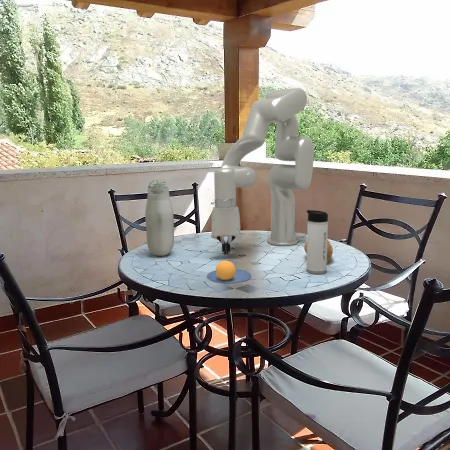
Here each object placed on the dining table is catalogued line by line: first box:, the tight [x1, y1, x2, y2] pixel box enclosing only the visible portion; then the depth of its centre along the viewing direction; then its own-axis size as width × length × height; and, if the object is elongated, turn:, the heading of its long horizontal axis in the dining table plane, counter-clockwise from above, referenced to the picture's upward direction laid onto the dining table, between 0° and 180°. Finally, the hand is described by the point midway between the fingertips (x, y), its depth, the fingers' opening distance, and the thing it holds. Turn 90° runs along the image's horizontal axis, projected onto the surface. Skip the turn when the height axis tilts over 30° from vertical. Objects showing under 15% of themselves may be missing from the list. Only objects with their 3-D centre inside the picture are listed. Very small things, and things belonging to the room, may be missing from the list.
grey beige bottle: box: [144, 179, 175, 257], centre depth 161 cm, size 10×10×28 cm
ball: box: [215, 260, 236, 280], centre depth 134 cm, size 6×6×6 cm
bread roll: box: [304, 239, 334, 263], centre depth 154 cm, size 10×15×8 cm, turn 178°
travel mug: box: [306, 209, 329, 275], centre depth 139 cm, size 6×7×20 cm
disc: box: [206, 268, 252, 284], centre depth 138 cm, size 14×14×1 cm
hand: (226, 253), depth 159 cm, fingers closed
